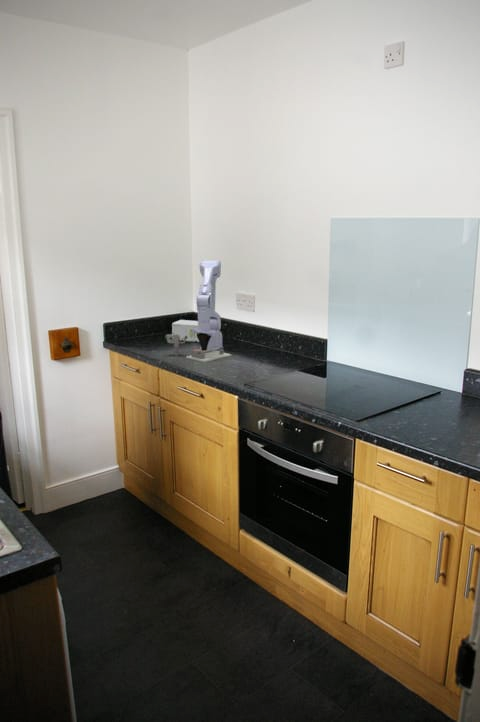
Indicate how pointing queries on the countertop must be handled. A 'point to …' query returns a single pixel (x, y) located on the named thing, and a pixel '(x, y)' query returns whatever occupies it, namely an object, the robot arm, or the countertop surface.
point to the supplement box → (185, 329)
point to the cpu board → (208, 355)
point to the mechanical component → (175, 341)
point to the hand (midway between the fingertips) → (204, 349)
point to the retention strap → (208, 349)
